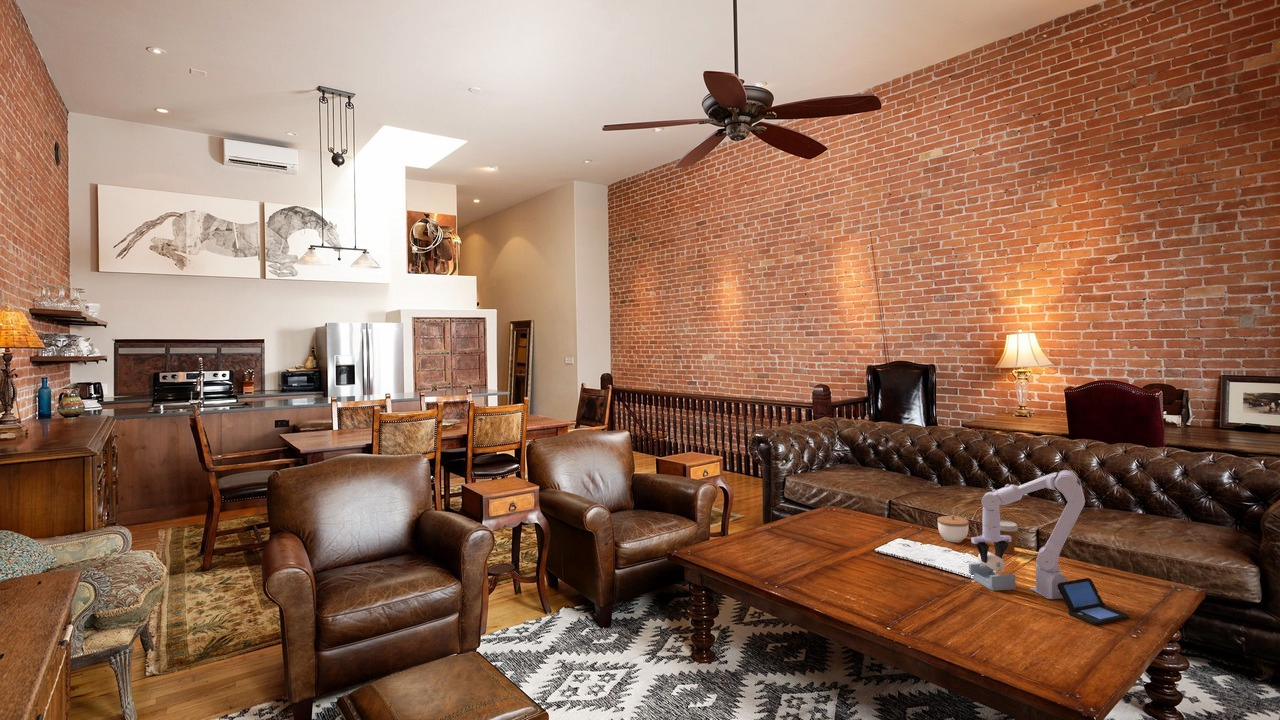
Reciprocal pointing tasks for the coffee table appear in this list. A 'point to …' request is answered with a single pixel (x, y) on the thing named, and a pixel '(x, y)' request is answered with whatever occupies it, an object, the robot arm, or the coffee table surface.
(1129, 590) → the coffee table surface
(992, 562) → the roll
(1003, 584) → the holder
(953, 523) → the lidded bowl
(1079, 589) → the game console
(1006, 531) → the disposable coffee cup
